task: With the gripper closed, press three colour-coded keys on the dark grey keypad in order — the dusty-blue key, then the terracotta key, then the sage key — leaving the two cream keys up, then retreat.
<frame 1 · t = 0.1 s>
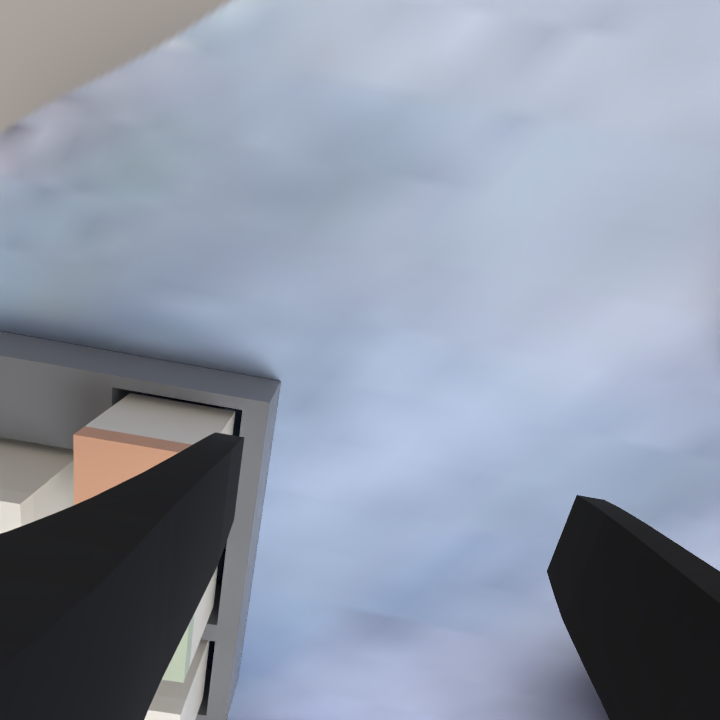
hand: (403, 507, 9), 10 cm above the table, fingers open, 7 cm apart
cream key 1: (1, 512, 17), point 4 cm above the table, slide at 0.0 cm
keypad board: (130, 527, 22), on the table
terracotta key: (160, 471, 16), point 4 cm above the table, slide at 0.0 cm
cream key 2: (147, 698, 20), point 4 cm above the table, slide at 0.0 cm
sage key: (153, 595, 18), point 4 cm above the table, slide at 0.0 cm
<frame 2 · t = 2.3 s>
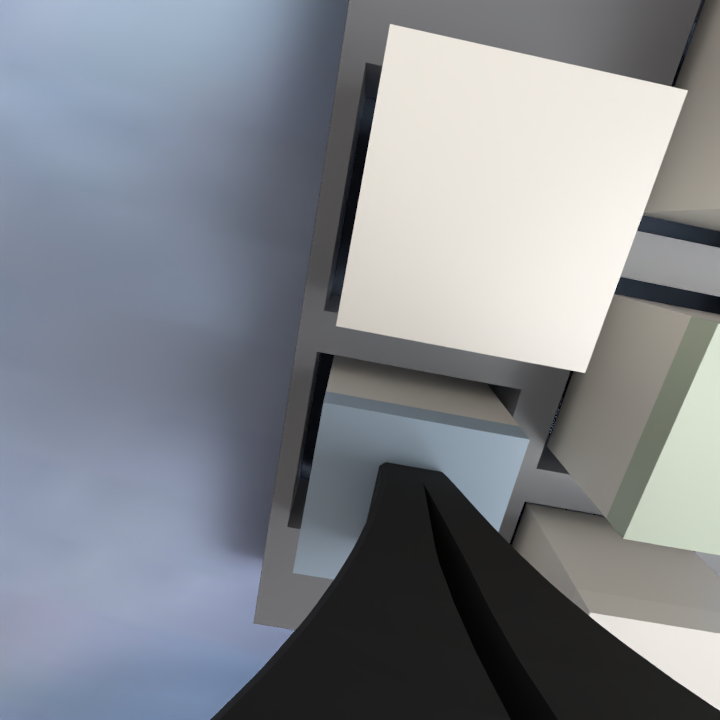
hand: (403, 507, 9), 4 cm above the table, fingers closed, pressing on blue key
cream key 1: (470, 218, 8), point 4 cm above the table, slide at 0.0 cm
keypad board: (523, 348, 13), on the table
cream key 2: (606, 629, 11), point 4 cm above the table, slide at 0.0 cm
blue key: (398, 465, 11), point 3 cm above the table, slide at 1.0 cm, touching gripper
sage key: (704, 417, 9), point 4 cm above the table, slide at 0.0 cm
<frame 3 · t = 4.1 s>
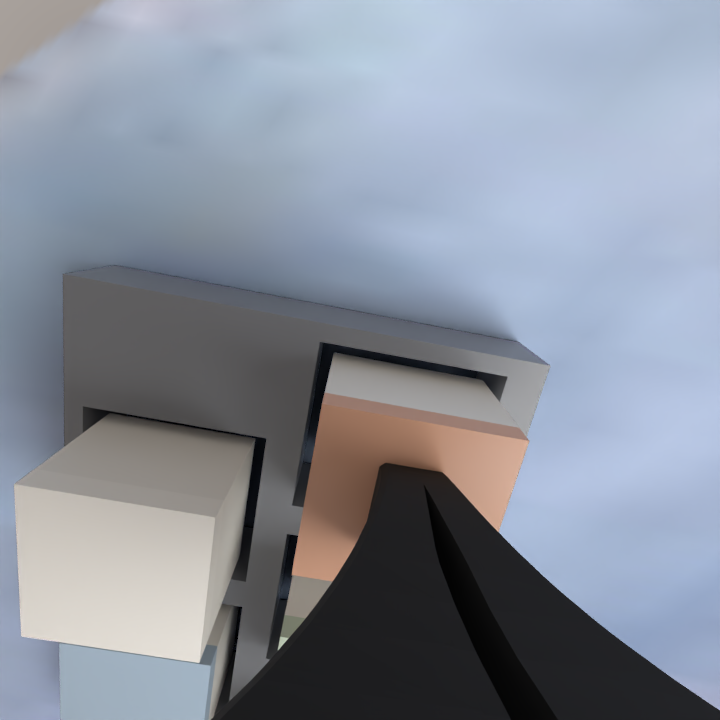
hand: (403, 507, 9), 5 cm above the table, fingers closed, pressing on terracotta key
cream key 1: (150, 527, 12), point 4 cm above the table, slide at 0.0 cm
keypad board: (281, 544, 16), on the table
terracotta key: (397, 466, 11), point 4 cm above the table, slide at 0.0 cm, touching gripper
blue key: (159, 650, 15), point 2 cm above the table, slide at 1.3 cm
sage key: (353, 646, 13), point 4 cm above the table, slide at 0.0 cm
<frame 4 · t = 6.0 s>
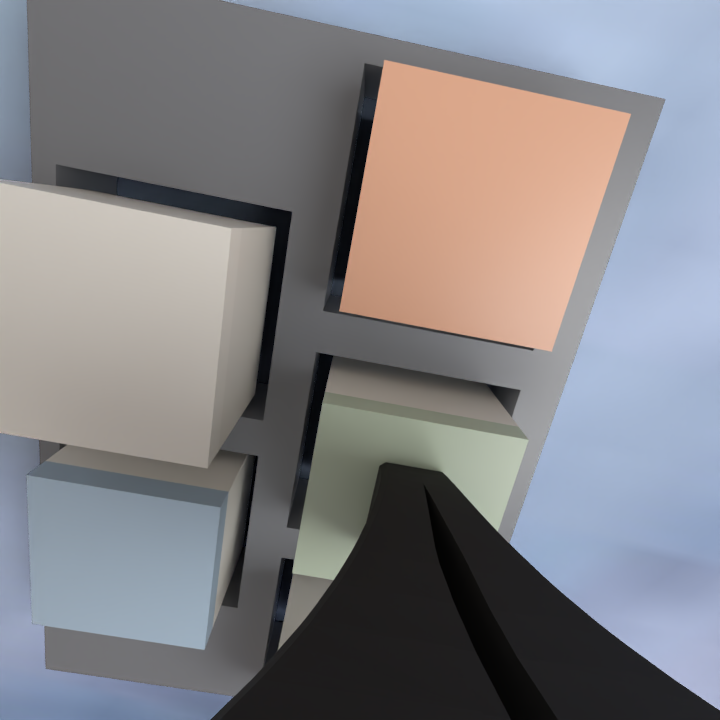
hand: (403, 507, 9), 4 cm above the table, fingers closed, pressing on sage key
cream key 1: (143, 313, 9), point 4 cm above the table, slide at 0.0 cm
keypad board: (303, 406, 13), on the table
terracotta key: (455, 219, 10), point 2 cm above the table, slide at 1.3 cm
cream key 2: (352, 679, 12), point 4 cm above the table, slide at 0.0 cm
blue key: (156, 518, 12), point 2 cm above the table, slide at 1.3 cm
sage key: (397, 465, 11), point 3 cm above the table, slide at 1.1 cm, touching gripper
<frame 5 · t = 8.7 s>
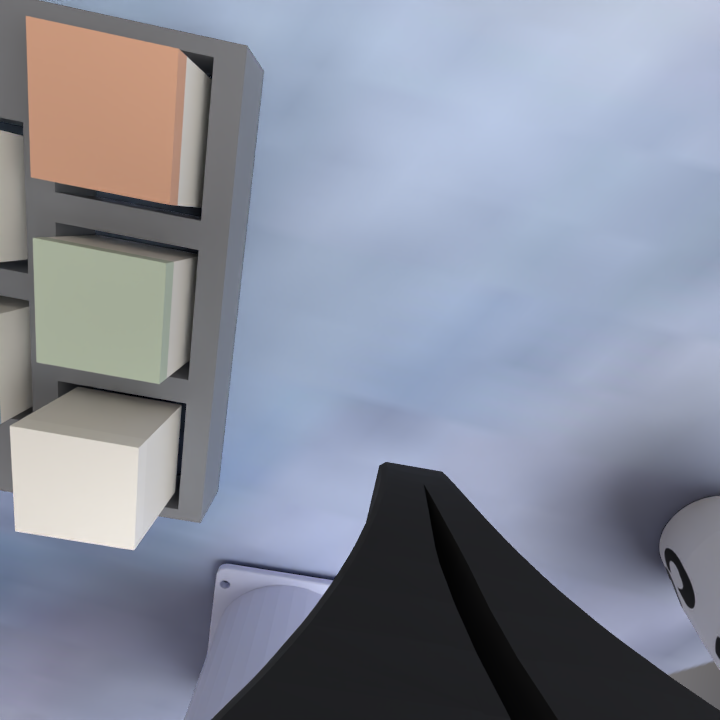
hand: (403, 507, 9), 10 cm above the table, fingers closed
keypad board: (88, 282, 18), on the table
terracotta key: (132, 128, 15), point 2 cm above the table, slide at 1.3 cm
cream key 2: (104, 463, 17), point 4 cm above the table, slide at 0.0 cm
cup: (708, 535, 22), on the table
sage key: (126, 304, 16), point 2 cm above the table, slide at 1.3 cm
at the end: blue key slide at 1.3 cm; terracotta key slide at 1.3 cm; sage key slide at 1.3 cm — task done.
